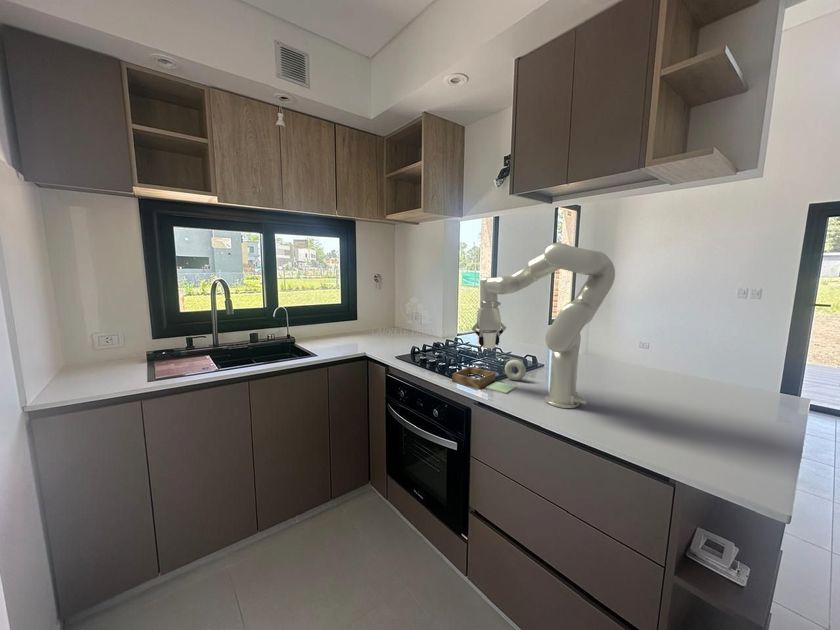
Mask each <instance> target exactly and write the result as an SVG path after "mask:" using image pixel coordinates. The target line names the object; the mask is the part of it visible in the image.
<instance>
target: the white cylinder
mask: <svg viewBox="0 0 840 630" xmlns="http://www.w3.org/2000/svg"><path fill="white" fill-rule="evenodd" d="M496 334H497V332H496V331H484V332H483V335H482V337H483V346H481V347H482V348H484V349H495V348H496Z"/></svg>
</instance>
